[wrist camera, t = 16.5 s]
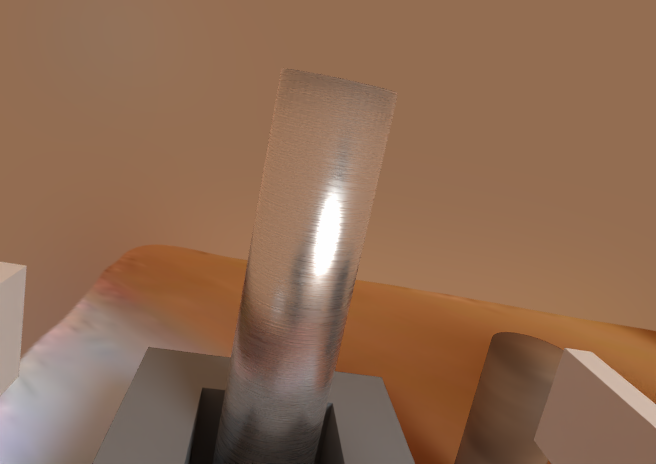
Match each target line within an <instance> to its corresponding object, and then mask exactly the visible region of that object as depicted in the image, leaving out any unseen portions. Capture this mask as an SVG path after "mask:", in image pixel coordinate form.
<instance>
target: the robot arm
mask: <svg viewBox="0 0 656 464" xmlns="http://www.w3.org/2000/svg"><path fill="white" fill-rule="evenodd" d="M26 267H27V266H26V265H19V264H13V263H6V262H0V396H1V395H2V394H3V393H4V391H5V390H6V389H7V388H8V387H9V386H10V385H11V384H12V383H13V382H14V381H15V379H16V378H17V377H18V376H19V366H20V352H21V338H22V324H23V308H24V294H25V281H26ZM534 441H535V442H536V444H537V445H538V446H539V448H540V449H541V450H542V452H543V453H544V454H545V456H546V457H547V459H548V460H549V461H550V463H551V464H656V404H655V403H653V402H652V401H651V400H650V399H649V398H647V397H646V396H645V395H644V394H642V393H641V392H640V391H639V390H638V389H636V388H635V387H634V386H633V385H631V384H630V383H629V382H628V381H627V380H625V379H624V378H623V377H622V376H620V375H619V374H618V373H617V372H616V371H614V370H613V369H612V368H611V367H609V366H608V365H607V364H606V363H605V362H603V361H602V360H601V359H600V358H598V357H597V356H596V355H595V354H594V353H592V352H589V351H582V350H576V349H569V348H565V349H564V352H563V354H562V357H561V360H560V363H559V366H558V369H557V372H556V375H555V378H554V381H553V384H552V387H551V390H550V393H549V396H548V399H547V402H546V405H545V408H544V411H543V414H542V417H541V420H540V423H539V426H538V429H537V431H536V434H535V437H534Z"/></svg>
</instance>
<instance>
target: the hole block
mask: <svg viewBox="0 0 656 464" xmlns="http://www.w3.org/2000/svg"><path fill="white" fill-rule="evenodd" d="M230 360H231V358H229V357H221V356H213V355H206V354H198V353H190V352H183V351H175V350H167V349H159V348H152V347H148V349H147V351H146V354H145V356H144V358H143V360H142V362H141V364H140V366H139V368H138V370H137V372H136V374H135V376H134V378H133V380H132V382H131V385H130V387H129V389H128V391H127V393H126V395H125V397H124V399H123V401H122V403H121V405H120V407H119V409H118V411H117V414H116V416H115V418H114V420H113V422H112V424H111V426H110V428H109V430H108V432H107V434H106V436H105V438H104V440H103V443H102V445H101V447H100V449H99V451H98V453H97V455H96V457H95V459H94V461H93V463H92V464H212V463H213V457H214V452H215V446H216V440H217V434H218V429H219V423H220V417H221V412H222V406H223V400H224V394H225V389H226V383H227V377H228V372H229V366H230ZM314 464H415V462H414V460H413V457H412V455H411V452H410V450H409V447H408V444H407V442H406V439H405V437H404V434H403V431H402V429H401V426H400V424H399V421H398V419H397V416H396V413H395V411H394V408H393V406H392V403H391V400H390V398H389V395H388V393H387V390H386V388H385V385H384V382H383V380H382V377H375V376H367V375H359V374H352V373H344V372H336V371H335V372H334V376H333V381H332V385H331V390H330V394H329V398H328V403H327V407H326V412H325V416H324V420H323V425H322V429H321V434H320V438H319V442H318V447H317V451H316V456H315V460H314Z"/></svg>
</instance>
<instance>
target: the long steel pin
mask: <svg viewBox="0 0 656 464" xmlns="http://www.w3.org/2000/svg"><path fill="white" fill-rule="evenodd" d="M397 95H398V93H396V92H394V91H390V90H387V89H383V88H379V87H376V86H372V85H367V84H363V83H359V82H354V81H350V80H345V79H341V78H336V77H331V76H326V75H321V74H315V73H310V72H304V71H299V70H292V69H281V74H280V80H279V85H278V91H277V97H276V103H275V108H274V114H273V120H272V125H271V131H270V137H269V143H268V148H267V154H266V160H265V165H264V171H263V177H262V183H261V189H260V194H259V200H258V206H257V211H256V217H255V224H254V229H253V234H252V240H251V246H250V251H249V257H248V263H247V268H246V274H245V280H244V286H243V291H242V297H241V303H240V309H239V314H238V320H237V326H236V331H235V337H234V343H233V349H232V354H231V360H230V366H229V372H228V377H227V383H226V389H225V394H224V400H223V406H222V412H221V417H220V423H219V429H218V434H217V440H216V446H215V452H214V457H213V463H212V464H314V460H315V456H316V451H317V447H318V442H319V438H320V434H321V429H322V425H323V420H324V416H325V412H326V407H327V403H328V398H329V394H330V390H331V385H332V381H333V376H334V372H335V368H336V363H337V359H338V354H339V350H340V346H341V341H342V337H343V332H344V328H345V324H346V319H347V315H348V310H349V306H350V302H351V297H352V293H353V288H354V284H355V280H356V275H357V271H358V266H359V262H360V258H361V253H362V249H363V244H364V240H365V236H366V231H367V227H368V222H369V218H370V213H371V209H372V205H373V201H374V196H375V192H376V187H377V183H378V178H379V174H380V170H381V165H382V161H383V156H384V152H385V148H386V143H387V139H388V135H389V130H390V126H391V121H392V117H393V112H394V108H395V104H396V99H397Z"/></svg>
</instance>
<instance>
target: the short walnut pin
mask: <svg viewBox="0 0 656 464" xmlns="http://www.w3.org/2000/svg"><path fill="white" fill-rule="evenodd" d="M563 352H564V350H562V349H560V348H558V347H557V346H555V345H552V344H550V343H548V342H546V341H543V340H540V339H538V338H534V337H531V336H528V335H523V334H518V333H511V332H501V333H497V334H495V335H493V337H492V340H491V343H490V347H489V350H488V353H487V357H486V360H485V363H484V367H483V370H482V373H481V377H480V380H479V383H478V387H477V390H476V393H475V397H474V400H473V403H472V407H471V410H470V413H469V417H468V420H467V423H466V427H465V430H464V433H463V437H462V440H461V443H460V447H459V450H458V453H457V457H456V460H455V463H454V464H547V462H548V459H547V457H546V456H545V454H544V453H543V452H542V450H541V449H540V448H539V446H538V445H537V444H536V442H535V441H534V437H535V434H536V431H537V429H538V426H539V423H540V420H541V417H542V414H543V411H544V408H545V405H546V402H547V399H548V396H549V393H550V390H551V387H552V384H553V381H554V378H555V375H556V372H557V369H558V366H559V363H560V360H561V357H562V354H563Z"/></svg>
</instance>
